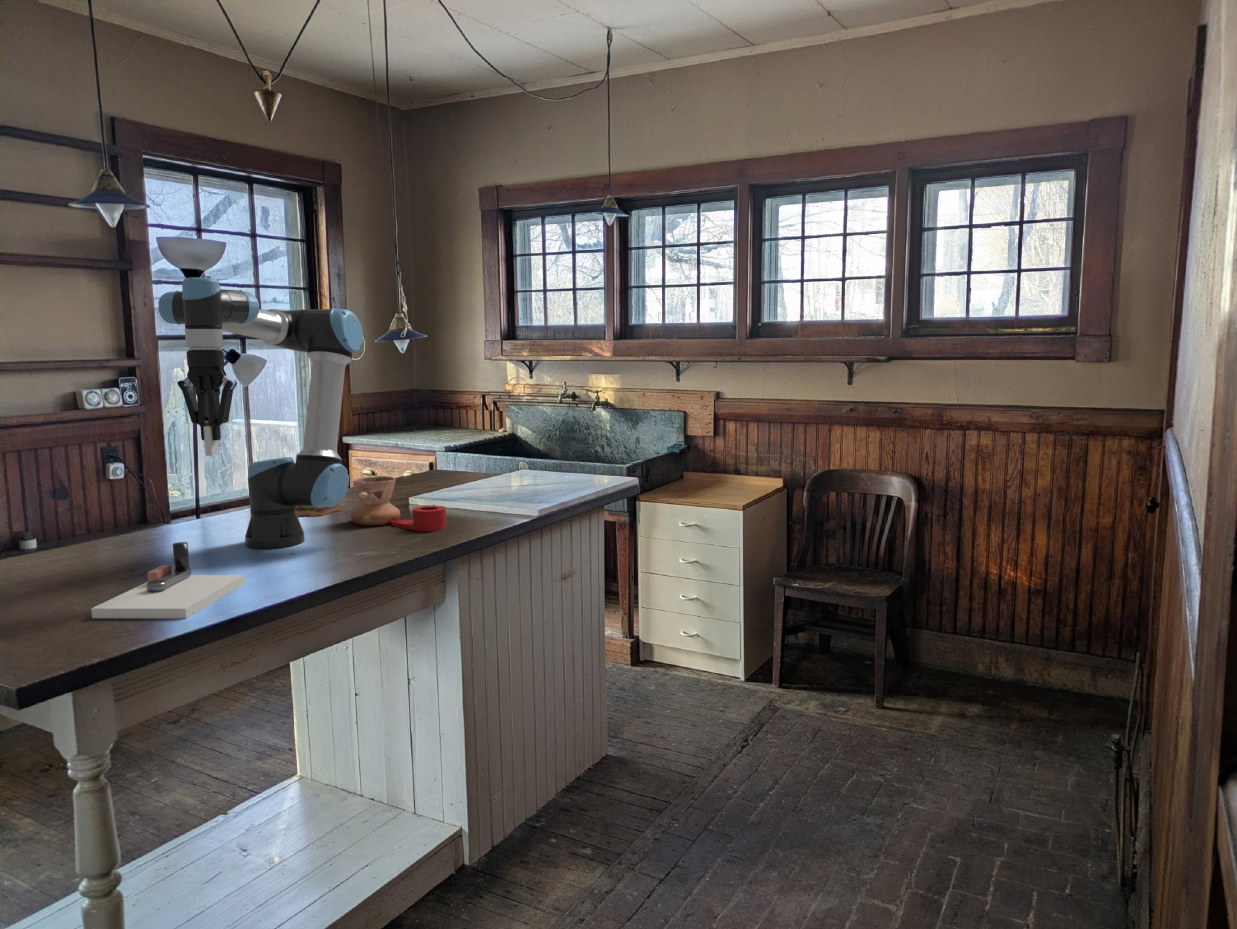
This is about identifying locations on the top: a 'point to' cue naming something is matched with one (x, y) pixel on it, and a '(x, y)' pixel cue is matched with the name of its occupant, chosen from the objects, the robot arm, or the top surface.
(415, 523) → the lever
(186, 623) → the top surface
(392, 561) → the top surface
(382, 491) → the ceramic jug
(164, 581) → the swing bar
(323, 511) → the plant
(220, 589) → the board
